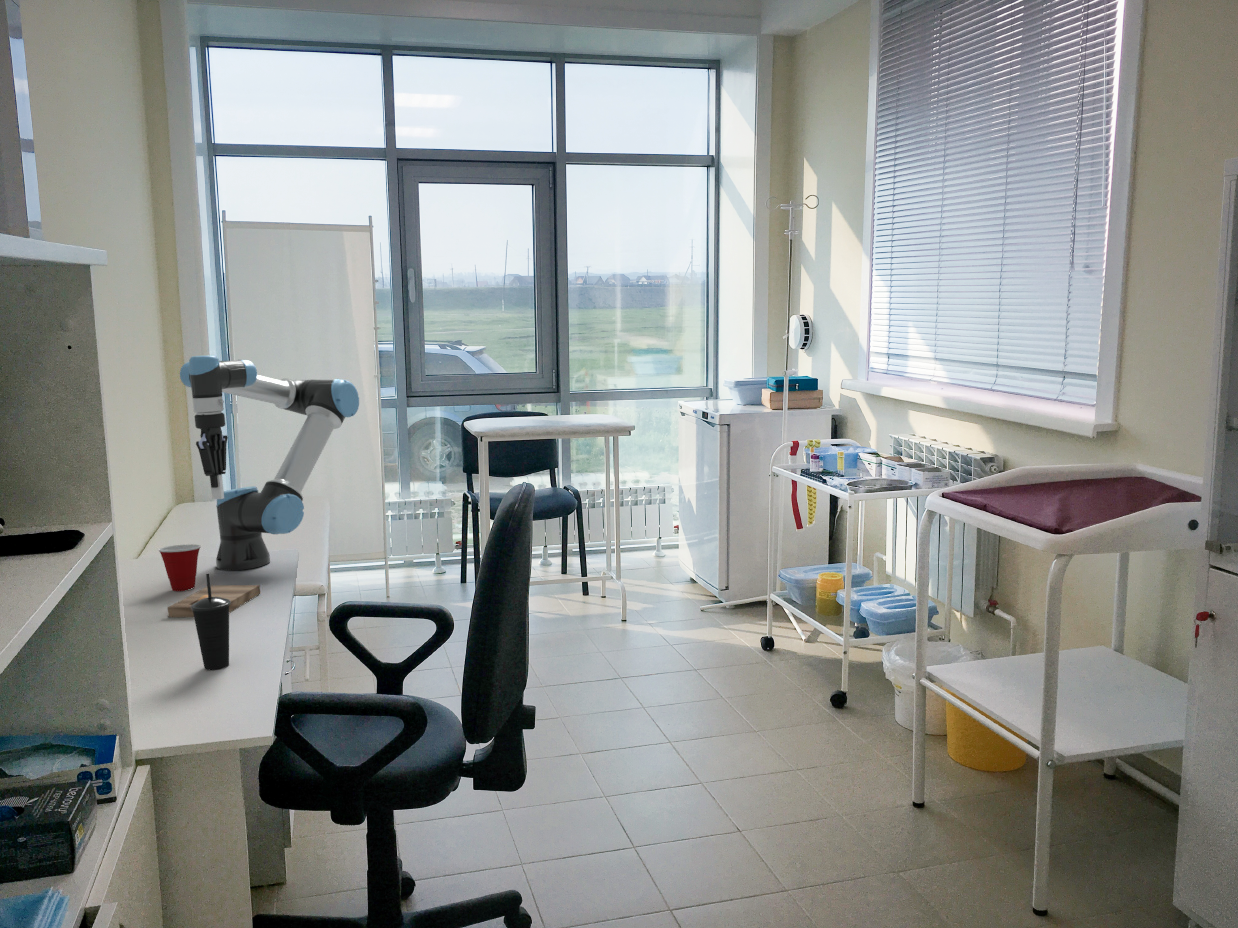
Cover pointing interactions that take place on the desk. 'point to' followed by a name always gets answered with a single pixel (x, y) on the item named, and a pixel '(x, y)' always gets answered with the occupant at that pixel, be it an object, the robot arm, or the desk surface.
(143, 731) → the desk surface
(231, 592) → the board
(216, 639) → the drinking cup
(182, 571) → the plastic cup
